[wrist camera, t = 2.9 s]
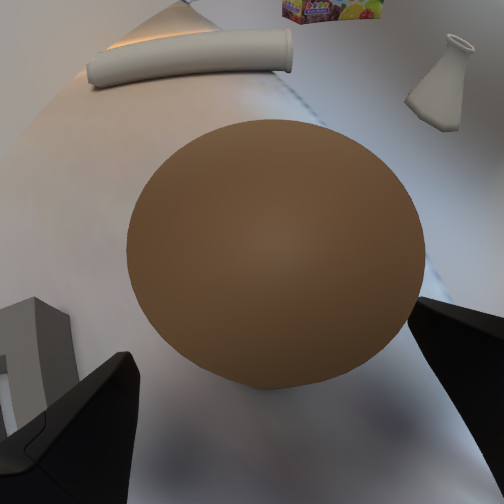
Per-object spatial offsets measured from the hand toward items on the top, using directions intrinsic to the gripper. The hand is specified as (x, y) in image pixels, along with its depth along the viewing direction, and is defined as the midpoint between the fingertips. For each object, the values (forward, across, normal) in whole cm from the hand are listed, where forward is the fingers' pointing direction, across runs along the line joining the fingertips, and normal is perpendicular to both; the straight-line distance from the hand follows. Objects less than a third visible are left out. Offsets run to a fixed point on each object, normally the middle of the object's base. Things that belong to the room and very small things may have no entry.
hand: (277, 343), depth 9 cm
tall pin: (+6, 0, +6) cm, 8 cm away
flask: (+21, -23, -8) cm, 32 cm away
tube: (+29, +4, -16) cm, 34 cm away
